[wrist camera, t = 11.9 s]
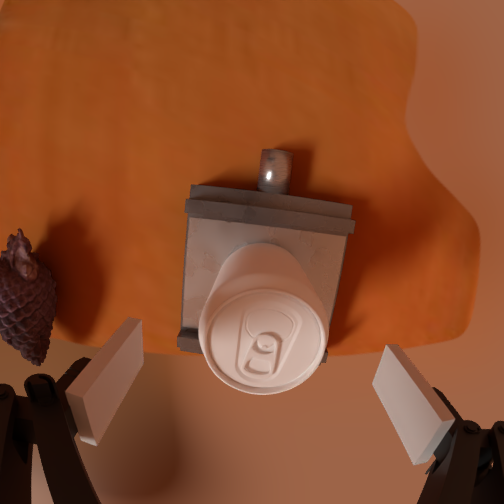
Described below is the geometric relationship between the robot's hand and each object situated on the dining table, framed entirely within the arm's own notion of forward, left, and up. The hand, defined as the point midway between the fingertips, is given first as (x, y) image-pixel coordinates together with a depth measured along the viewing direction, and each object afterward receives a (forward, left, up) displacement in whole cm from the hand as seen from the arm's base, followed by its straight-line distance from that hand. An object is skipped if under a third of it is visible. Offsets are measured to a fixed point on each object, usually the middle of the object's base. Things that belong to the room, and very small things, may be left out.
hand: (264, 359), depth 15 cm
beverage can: (0, 0, -14) cm, 14 cm away
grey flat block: (0, 0, -17) cm, 17 cm away
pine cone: (+6, -28, -17) cm, 33 cm away
